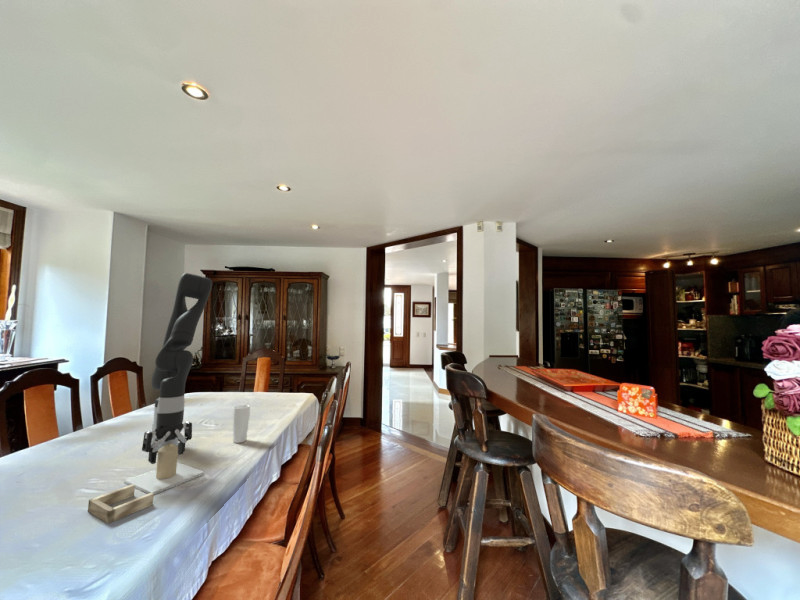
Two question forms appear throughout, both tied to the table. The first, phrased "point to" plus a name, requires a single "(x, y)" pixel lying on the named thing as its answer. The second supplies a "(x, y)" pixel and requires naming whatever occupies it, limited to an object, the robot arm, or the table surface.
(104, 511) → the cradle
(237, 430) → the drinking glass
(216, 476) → the table surface
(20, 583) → the table surface
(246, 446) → the table surface
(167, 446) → the candle
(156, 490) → the plate
